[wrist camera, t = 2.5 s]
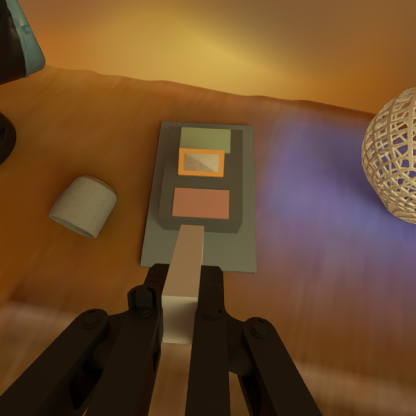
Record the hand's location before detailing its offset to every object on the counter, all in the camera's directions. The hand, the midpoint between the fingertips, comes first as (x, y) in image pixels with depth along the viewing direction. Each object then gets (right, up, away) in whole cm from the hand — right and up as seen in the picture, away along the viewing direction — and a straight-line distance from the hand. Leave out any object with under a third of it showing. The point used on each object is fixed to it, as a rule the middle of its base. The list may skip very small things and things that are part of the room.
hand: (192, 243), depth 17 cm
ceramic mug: (-20, +1, +28) cm, 34 cm away
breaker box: (0, +5, +29) cm, 30 cm away
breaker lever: (0, +8, +22) cm, 24 cm away
